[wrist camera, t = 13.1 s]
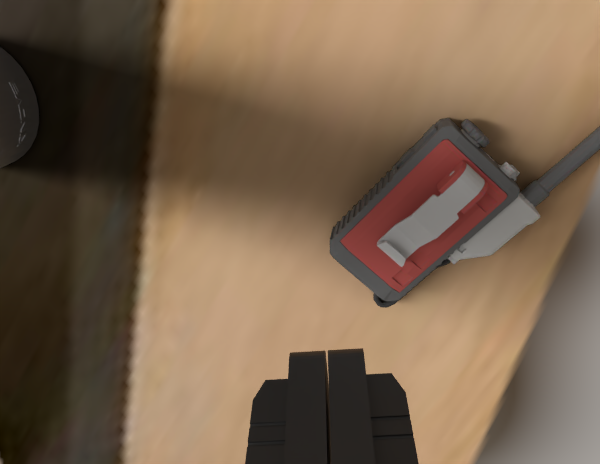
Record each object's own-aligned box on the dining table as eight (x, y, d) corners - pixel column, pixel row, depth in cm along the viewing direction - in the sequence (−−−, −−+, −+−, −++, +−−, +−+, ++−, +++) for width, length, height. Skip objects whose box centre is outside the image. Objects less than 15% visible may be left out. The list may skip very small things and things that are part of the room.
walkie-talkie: (403, 315, 43) (638, 115, 35) (404, 350, 39) (670, 132, 31) (314, 239, 41) (538, 14, 34) (306, 267, 37) (558, 17, 30)
